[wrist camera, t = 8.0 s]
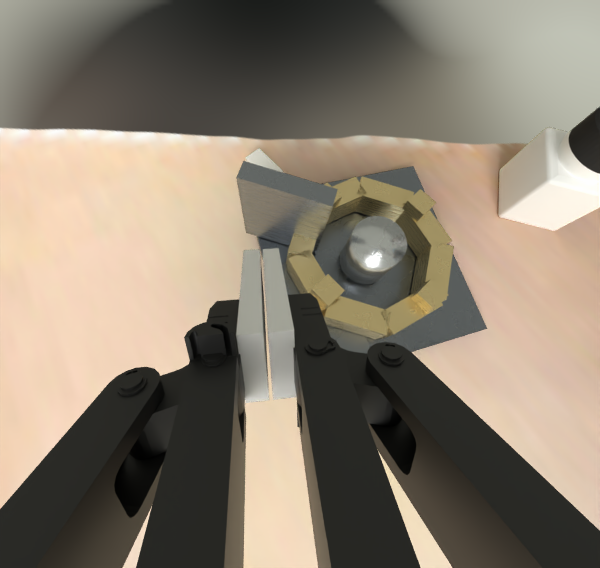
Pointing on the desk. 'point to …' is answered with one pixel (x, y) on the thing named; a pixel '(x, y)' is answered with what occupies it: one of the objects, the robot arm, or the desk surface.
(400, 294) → the housing plate
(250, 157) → the small white rectangular block
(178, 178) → the desk surface
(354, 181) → the block with gold ring
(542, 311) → the desk surface
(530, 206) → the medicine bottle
